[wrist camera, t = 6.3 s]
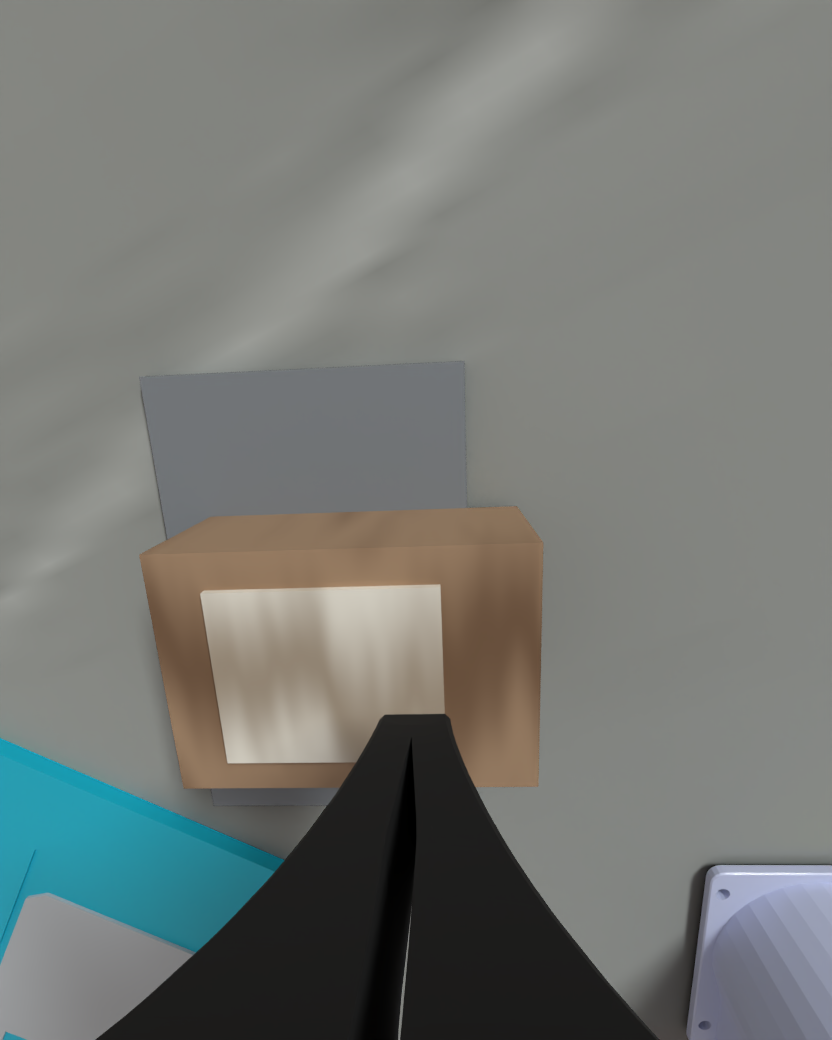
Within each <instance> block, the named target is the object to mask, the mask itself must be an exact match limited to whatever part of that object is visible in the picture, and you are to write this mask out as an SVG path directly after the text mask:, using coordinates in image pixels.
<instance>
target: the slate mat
mask: <svg viewBox="0 0 832 1040" xmlns="http://www.w3.org/2000/svg"><path fill="white" fill-rule="evenodd" d="M139 379H140V385H141V390H142V396H143V402H144V408H145V413H146V419H147V425H148V431H149V436H150V442H151V448H152V454H153V459H154V465H155V471H156V477H157V482H158V488H159V494H160V500H161V505H162V511H163V517H164V523H165V528H166V534H167V540H168V539H170V538H172V537H173V536H175V535H177V534H179V533H181V532H183V531H185V530H187V529H188V528H190V527H192V526H194V525H196V524H198V523H200V522H202V521H203V520H205V519H207V518H209V517H216V516H246V515H275V514H305V513H335V512H364V511H394V510H424V509H454V508H467V482H466V429H465V376H464V361H455V362H434V363H413V364H393V365H372V366H352V367H331V368H310V369H290V370H269V371H248V372H228V373H207V374H186V375H166V376H145V377H139ZM338 790H339V788H211V793H212V799H213V804H214V806H294V805H328V804H329V802H330V801H331V800H332V798H333V797H334V796H335V794H336V793H337V791H338Z"/></svg>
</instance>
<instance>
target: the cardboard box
mask: <svg viewBox="0 0 832 1040" xmlns="http://www.w3.org/2000/svg"><path fill="white" fill-rule="evenodd" d="M139 556H140V561H141V566H142V572H143V577H144V582H145V587H146V593H147V598H148V603H149V608H150V614H151V619H152V624H153V629H154V635H155V640H156V645H157V651H158V656H159V661H160V666H161V672H162V677H163V682H164V687H165V693H166V698H167V703H168V708H169V714H170V719H171V724H172V729H173V735H174V740H175V745H176V750H177V756H178V761H179V766H180V772H181V777H182V782H183V787H184V789H187V788H340V787H341V785H342V783H343V782H344V780H345V779H346V777H347V776H348V774H349V773H350V771H351V770H352V768H353V766H354V765H355V763H356V762H357V760H358V758H359V757H360V755H361V753H362V752H363V750H364V748H365V747H366V745H367V743H368V741H369V739H370V738H371V736H372V734H373V732H374V730H375V728H376V726H377V724H378V722H379V720H380V719H381V718H382V717H383V716H384V715H389V714H446V715H447V716H448V717H449V718H450V719H451V726H452V730H453V734H454V737H455V740H456V743H457V746H458V749H459V751H460V754H461V756H462V759H463V761H464V764H465V766H466V768H467V771H468V773H469V775H470V777H471V779H472V781H473V783H474V785H475V787H538V777H539V728H540V678H541V628H542V579H543V542H542V540H541V539H540V538H539V536H538V535H537V533H536V532H535V531H534V529H533V528H532V527H531V525H530V524H529V522H528V521H527V520H526V518H525V517H524V516H523V514H522V513H521V511H520V510H519V509H518V507H517V506H513V507H483V508H454V509H424V510H394V511H364V512H335V513H305V514H275V515H246V516H216V517H209V518H207V519H205V520H203V521H202V522H200V523H198V524H196V525H194V526H192V527H190V528H188V529H187V530H185V531H183V532H181V533H179V534H177V535H175V536H173V537H172V538H170V539H168V540H166V541H164V542H162V543H160V544H159V545H157V546H155V547H153V548H151V549H149V550H147V551H145V552H144V553H142V554H140V555H139Z"/></svg>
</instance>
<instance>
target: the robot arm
mask: <svg viewBox="0 0 832 1040" xmlns="http://www.w3.org/2000/svg"><path fill="white" fill-rule="evenodd" d="M411 908H412V911H411ZM410 916H411V924H410ZM409 925H410V937H409V949H408V961H407V972H406V983H405V994H404V1005H403V1017H402V1028H401V1038H400V1040H659V1039H658V1038H657V1037H656V1036H655V1035H654V1033H653V1032H652V1031H651V1030H650V1029H649V1028H648V1027H647V1026H646V1025H645V1024H644V1022H643V1021H642V1020H641V1019H640V1018H639V1017H638V1016H637V1015H636V1013H635V1012H634V1011H633V1010H632V1009H631V1008H630V1007H629V1005H628V1004H627V1003H626V1002H625V1001H624V1000H623V999H622V997H621V996H620V995H619V994H618V993H617V992H616V991H615V989H614V988H613V987H612V986H611V985H610V984H609V983H608V981H607V980H606V979H605V978H604V977H603V975H602V974H601V973H600V972H599V970H598V969H597V968H596V967H595V965H594V964H593V963H592V962H591V960H590V959H589V958H588V957H587V955H586V954H585V953H584V952H583V950H582V949H581V948H580V947H579V945H578V944H577V943H576V942H575V940H574V939H573V938H572V937H571V935H570V934H569V933H568V932H567V930H566V929H565V928H564V927H563V925H562V924H561V923H560V922H559V920H558V919H557V918H556V916H555V915H554V914H553V912H552V911H551V909H550V908H549V907H548V905H547V904H546V902H545V901H544V900H543V898H542V897H541V895H540V894H539V893H538V891H537V890H536V889H535V887H534V886H533V884H532V883H531V881H530V880H529V878H528V877H527V875H526V874H525V872H524V871H523V869H522V868H521V866H520V865H519V863H518V862H517V860H516V859H515V857H514V856H513V854H512V852H511V851H510V849H509V848H508V846H507V844H506V843H505V841H504V839H503V838H502V836H501V834H500V832H499V831H498V829H497V827H496V825H495V824H494V822H493V820H492V818H491V817H490V815H489V813H488V811H487V809H486V807H485V805H484V804H483V802H482V800H481V798H480V796H479V794H478V792H477V790H476V788H475V785H474V783H473V781H472V779H471V777H470V775H469V773H468V771H467V768H466V766H465V764H464V761H463V759H462V756H461V754H460V751H459V749H458V746H457V743H456V740H455V737H454V734H453V730H452V726H451V719H450V718H449V717H448V716H447V715H446V714H389V715H384V716H383V717H382V718H381V719H380V720H379V722H378V724H377V726H376V728H375V730H374V732H373V734H372V736H371V738H370V739H369V741H368V743H367V745H366V747H365V748H364V750H363V752H362V753H361V755H360V757H359V758H358V760H357V762H356V763H355V765H354V766H353V768H352V770H351V771H350V773H349V774H348V776H347V777H346V779H345V780H344V782H343V783H342V785H341V787H340V788H339V790H338V791H337V793H336V794H335V796H334V797H333V798H332V800H331V801H330V802H329V804H328V805H327V807H326V808H325V809H324V811H323V812H322V813H321V815H320V816H319V817H318V819H317V820H316V822H315V823H314V824H313V826H312V827H311V828H310V830H309V831H308V832H307V834H306V835H305V836H304V837H303V839H302V840H301V841H300V842H299V844H298V845H297V846H296V847H295V849H294V850H293V851H292V852H291V853H290V855H289V856H288V857H287V858H286V859H285V861H284V862H283V863H282V864H281V865H280V866H279V867H278V869H277V870H276V871H275V872H274V873H273V874H272V876H271V877H270V878H269V879H268V880H267V881H266V882H265V883H264V884H263V886H262V887H261V888H260V889H259V890H258V891H257V892H256V893H255V894H254V895H253V896H252V897H251V898H250V899H249V900H248V901H247V902H246V904H245V905H244V906H243V907H242V908H241V909H240V910H239V911H238V912H237V913H236V914H235V915H234V916H233V917H232V918H231V919H230V920H229V921H228V922H227V923H226V924H225V925H224V926H223V927H222V928H221V929H220V930H219V931H218V932H217V933H216V934H215V935H214V936H213V937H212V938H211V939H210V940H209V941H208V942H207V943H206V944H205V945H204V946H203V947H201V948H200V949H199V950H198V951H197V952H196V953H195V954H194V955H193V956H192V957H190V958H189V959H188V960H187V961H186V962H185V963H184V964H183V965H182V966H181V967H179V968H178V969H177V970H176V971H175V972H174V973H173V974H172V975H171V976H170V977H169V978H167V979H166V980H165V981H164V982H163V983H162V984H161V985H160V986H159V987H158V988H156V989H155V990H154V991H153V992H152V993H151V994H150V995H149V996H148V997H146V998H145V999H144V1000H143V1001H142V1002H141V1003H139V1004H138V1005H137V1006H136V1007H135V1008H134V1009H132V1010H131V1011H130V1012H129V1013H128V1014H127V1015H125V1016H124V1017H123V1018H122V1019H120V1020H119V1021H118V1022H117V1023H115V1024H114V1025H113V1026H112V1027H110V1028H109V1029H108V1030H107V1031H105V1032H104V1033H103V1034H102V1035H100V1036H99V1037H98V1038H97V1039H95V1040H398V1028H399V1016H400V1005H401V993H402V984H403V976H404V967H405V959H406V950H407V942H408V933H409ZM686 1033H687V1037H688V1039H689V1040H832V865H717V866H714V867H712V868H710V869H709V870H708V872H707V874H706V880H705V888H704V896H703V904H702V912H701V920H700V927H699V935H698V943H697V951H696V959H695V967H694V975H693V983H692V991H691V999H690V1007H689V1015H688V1023H687V1030H686Z"/></svg>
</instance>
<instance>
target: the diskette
mask: <svg viewBox="0 0 832 1040" xmlns="http://www.w3.org/2000/svg"><path fill="white" fill-rule="evenodd" d="M284 861H285V860H283V859H281V858H278V857H276V856H274V855H271V854H269V853H267V852H264V851H262V850H260V849H257V848H255V847H253V846H250V845H248V844H246V843H243V842H241V841H239V840H236V839H234V838H232V837H229V836H227V835H225V834H222V833H220V832H218V831H215V830H213V829H211V828H208V827H206V826H204V825H201V824H199V823H197V822H194V821H192V820H190V819H187V818H185V817H183V816H180V815H178V814H176V813H173V812H171V811H169V810H166V809H164V808H162V807H159V806H157V805H155V804H152V803H150V802H148V801H145V800H143V799H141V798H138V797H136V796H134V795H132V794H129V793H127V792H125V791H122V790H120V789H118V788H115V787H113V786H111V785H108V784H106V783H104V782H101V781H99V780H97V779H94V778H92V777H90V776H87V775H85V774H83V773H80V772H78V771H76V770H73V769H71V768H69V767H66V766H64V765H62V764H59V763H57V762H55V761H52V760H50V759H48V758H45V757H43V756H41V755H38V754H36V753H34V752H31V751H29V750H27V749H24V748H22V747H20V746H17V745H15V744H13V743H10V742H8V741H6V740H3V739H1V738H0V1040H95V1039H97V1038H98V1037H99V1036H100V1035H102V1034H103V1033H104V1032H105V1031H107V1030H108V1029H109V1028H110V1027H112V1026H113V1025H114V1024H115V1023H117V1022H118V1021H119V1020H120V1019H122V1018H123V1017H124V1016H125V1015H127V1014H128V1013H129V1012H130V1011H131V1010H132V1009H134V1008H135V1007H136V1006H137V1005H138V1004H139V1003H141V1002H142V1001H143V1000H144V999H145V998H146V997H148V996H149V995H150V994H151V993H152V992H153V991H154V990H155V989H156V988H158V987H159V986H160V985H161V984H162V983H163V982H164V981H165V980H166V979H167V978H169V977H170V976H171V975H172V974H173V973H174V972H175V971H176V970H177V969H178V968H179V967H181V966H182V965H183V964H184V963H185V962H186V961H187V960H188V959H189V958H190V957H192V956H193V955H194V954H195V953H196V952H197V951H198V950H199V949H200V948H201V947H203V946H204V945H205V944H206V943H207V942H208V941H209V940H210V939H211V938H212V937H213V936H214V935H215V934H216V933H217V932H218V931H219V930H220V929H221V928H222V927H223V926H224V925H225V924H226V923H227V922H228V921H229V920H230V919H231V918H232V917H233V916H234V915H235V914H236V913H237V912H238V911H239V910H240V909H241V908H242V907H243V906H244V905H245V904H246V902H247V901H248V900H249V899H250V898H251V897H252V896H253V895H254V894H255V893H256V892H257V891H258V890H259V889H260V888H261V887H262V886H263V884H264V883H265V882H266V881H267V880H268V879H269V878H270V877H271V876H272V874H273V873H274V872H275V871H276V870H277V869H278V867H279V866H280V865H281V864H282V863H283V862H284Z"/></svg>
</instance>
